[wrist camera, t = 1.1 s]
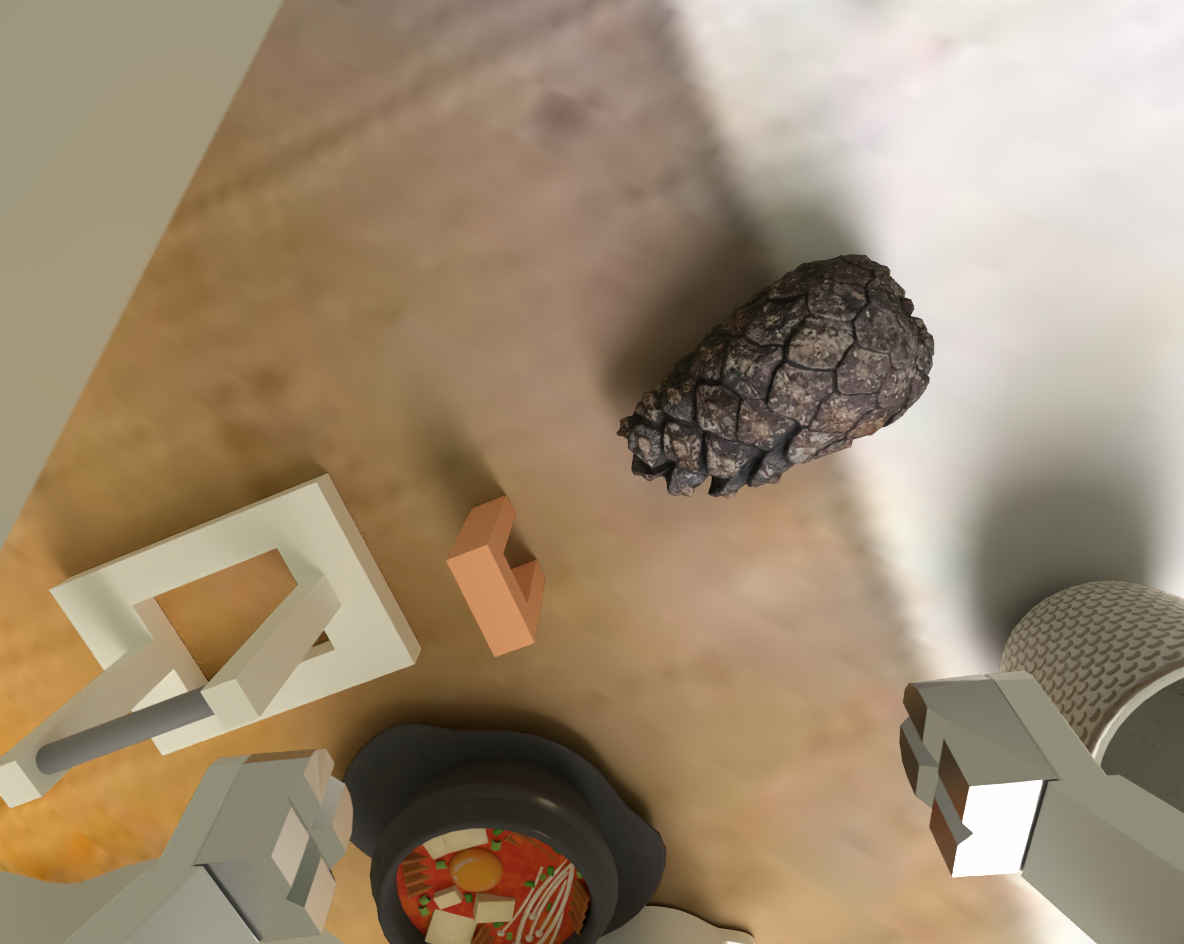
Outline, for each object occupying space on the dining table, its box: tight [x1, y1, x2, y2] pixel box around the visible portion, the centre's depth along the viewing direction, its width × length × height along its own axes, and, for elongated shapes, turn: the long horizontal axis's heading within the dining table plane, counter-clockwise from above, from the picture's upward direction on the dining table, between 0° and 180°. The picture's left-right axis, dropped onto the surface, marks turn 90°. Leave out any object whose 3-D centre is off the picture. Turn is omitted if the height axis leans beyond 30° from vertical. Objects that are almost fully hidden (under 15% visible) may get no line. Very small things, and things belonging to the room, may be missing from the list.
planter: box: [1000, 581, 1184, 813], centre depth 43 cm, size 14×14×13 cm
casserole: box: [342, 723, 666, 944], centre depth 50 cm, size 25×19×8 cm
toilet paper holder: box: [0, 473, 422, 808], centre depth 43 cm, size 20×14×14 cm
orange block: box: [446, 495, 545, 657], centre depth 44 cm, size 6×2×8 cm, turn 22°
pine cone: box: [617, 254, 934, 498], centre depth 40 cm, size 10×18×10 cm, turn 131°
